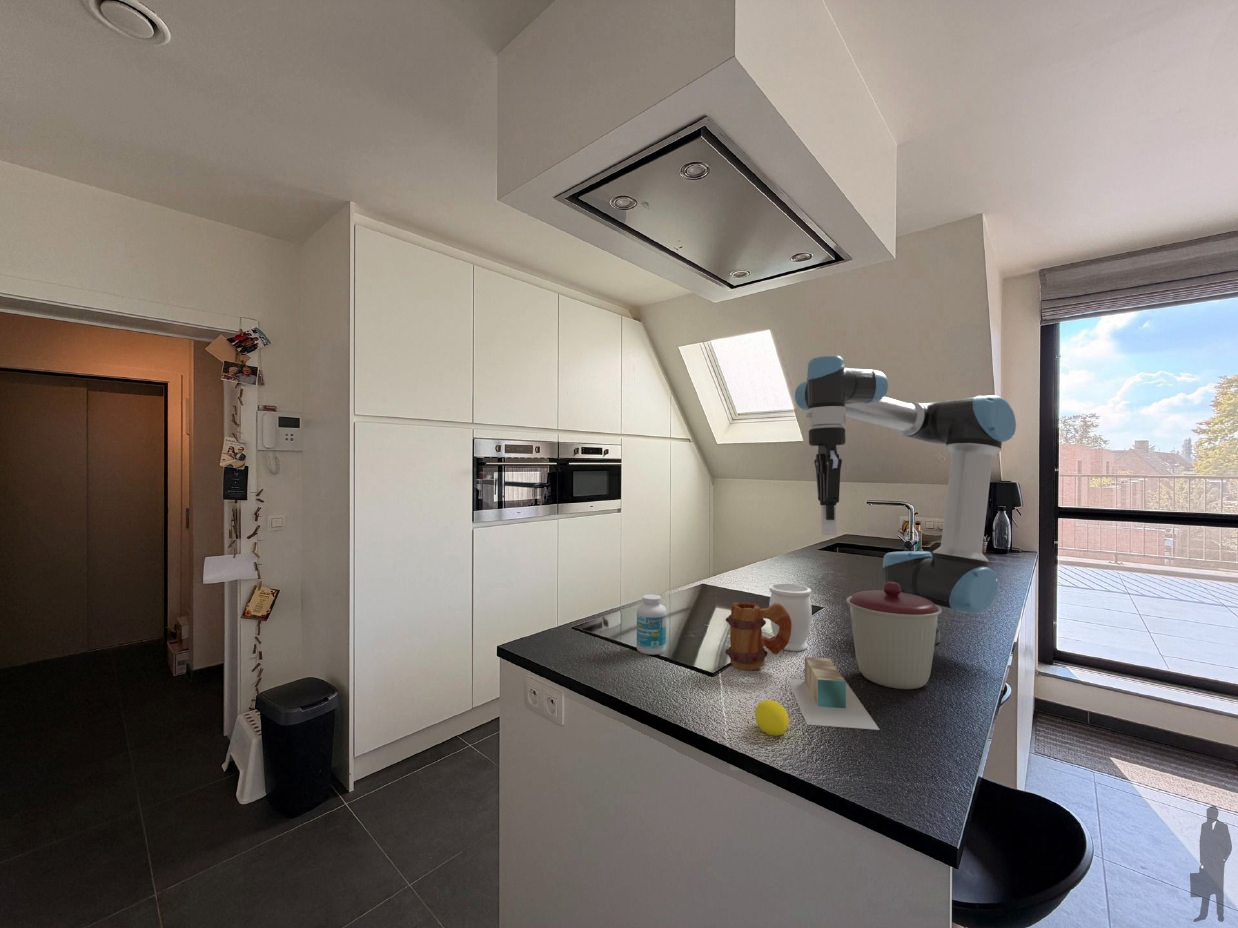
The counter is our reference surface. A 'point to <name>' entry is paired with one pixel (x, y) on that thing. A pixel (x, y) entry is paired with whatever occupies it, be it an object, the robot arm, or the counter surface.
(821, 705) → the block
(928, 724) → the counter surface
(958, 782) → the counter surface
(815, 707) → the mat
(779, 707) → the lemon
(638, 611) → the pill bottle
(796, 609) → the jar
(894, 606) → the canister
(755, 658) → the mug
